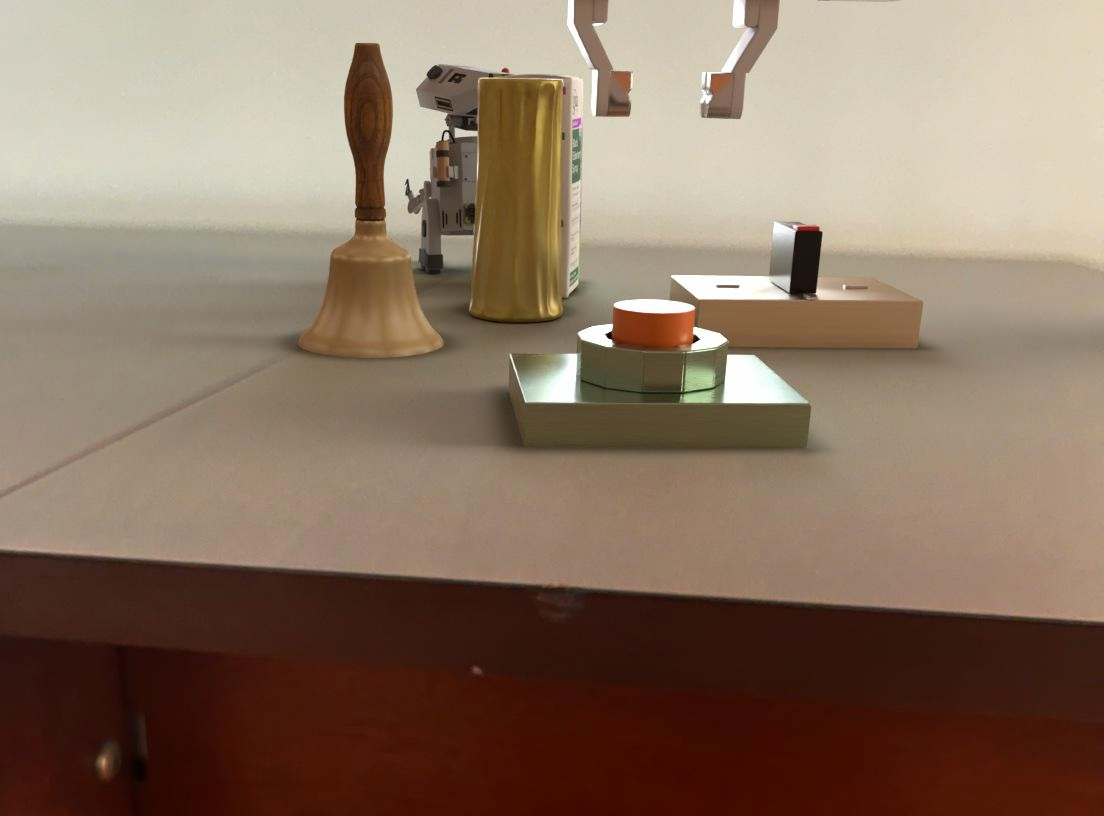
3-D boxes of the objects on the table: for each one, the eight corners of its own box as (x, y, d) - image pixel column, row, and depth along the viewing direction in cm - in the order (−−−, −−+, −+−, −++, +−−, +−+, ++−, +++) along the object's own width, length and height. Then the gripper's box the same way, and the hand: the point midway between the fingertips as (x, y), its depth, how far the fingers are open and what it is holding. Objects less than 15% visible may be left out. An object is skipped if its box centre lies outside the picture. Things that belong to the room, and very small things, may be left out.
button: (684, 338, 61) (687, 299, 60) (699, 354, 57) (702, 313, 57) (606, 337, 60) (608, 298, 60) (617, 353, 57) (619, 312, 56)
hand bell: (474, 349, 75) (477, 45, 69) (361, 370, 70) (354, 40, 64) (380, 328, 80) (375, 44, 74) (268, 346, 75) (253, 40, 69)
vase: (494, 303, 90) (498, 77, 84) (578, 312, 87) (586, 79, 82) (452, 317, 84) (453, 77, 79) (539, 326, 82) (546, 79, 77)
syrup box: (569, 298, 92) (577, 74, 87) (486, 294, 93) (489, 73, 88) (579, 286, 97) (587, 74, 92) (500, 283, 98) (504, 72, 93)
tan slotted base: (867, 324, 85) (873, 274, 84) (917, 353, 76) (925, 298, 75) (667, 322, 84) (670, 272, 83) (695, 352, 76) (700, 296, 74)
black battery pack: (768, 280, 81) (774, 217, 80) (794, 280, 82) (800, 217, 80) (789, 293, 77) (795, 226, 75) (816, 293, 77) (823, 227, 75)
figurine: (510, 256, 112) (514, 65, 106) (544, 276, 102) (551, 66, 96) (404, 257, 110) (402, 63, 105) (428, 277, 100) (427, 63, 94)
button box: (751, 399, 65) (758, 317, 64) (806, 454, 56) (816, 360, 54) (508, 398, 64) (510, 315, 63) (523, 454, 55) (526, 359, 54)
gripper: (927, -244, 54) (884, 119, 59) (422, -263, 52) (423, 110, 57) (990, -281, 48) (936, 125, 53) (423, -304, 46) (424, 115, 52)
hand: (665, 117), depth 55 cm, fingers open, 3 cm apart
